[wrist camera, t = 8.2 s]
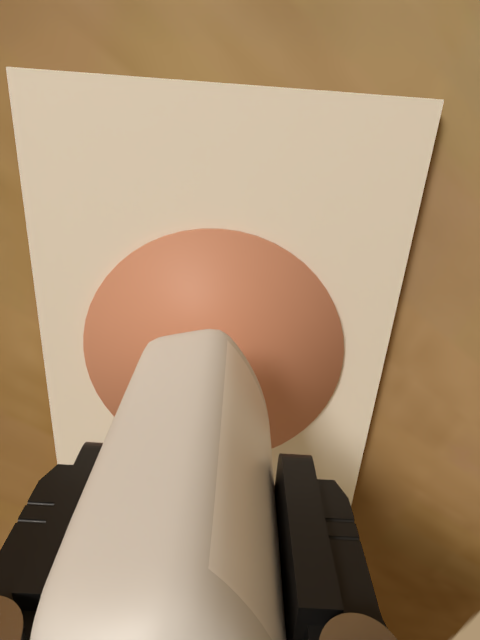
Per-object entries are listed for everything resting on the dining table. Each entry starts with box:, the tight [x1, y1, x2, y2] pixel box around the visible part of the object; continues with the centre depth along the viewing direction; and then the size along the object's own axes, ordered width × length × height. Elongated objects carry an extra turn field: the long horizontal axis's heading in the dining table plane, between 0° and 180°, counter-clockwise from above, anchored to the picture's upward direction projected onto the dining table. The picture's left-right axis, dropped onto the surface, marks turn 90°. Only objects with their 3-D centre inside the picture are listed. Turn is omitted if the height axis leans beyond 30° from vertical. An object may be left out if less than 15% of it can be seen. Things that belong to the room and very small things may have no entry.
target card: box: [6, 67, 444, 505], centre depth 16 cm, size 17×12×1 cm
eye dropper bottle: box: [30, 329, 287, 640], centre depth 8 cm, size 4×6×12 cm
